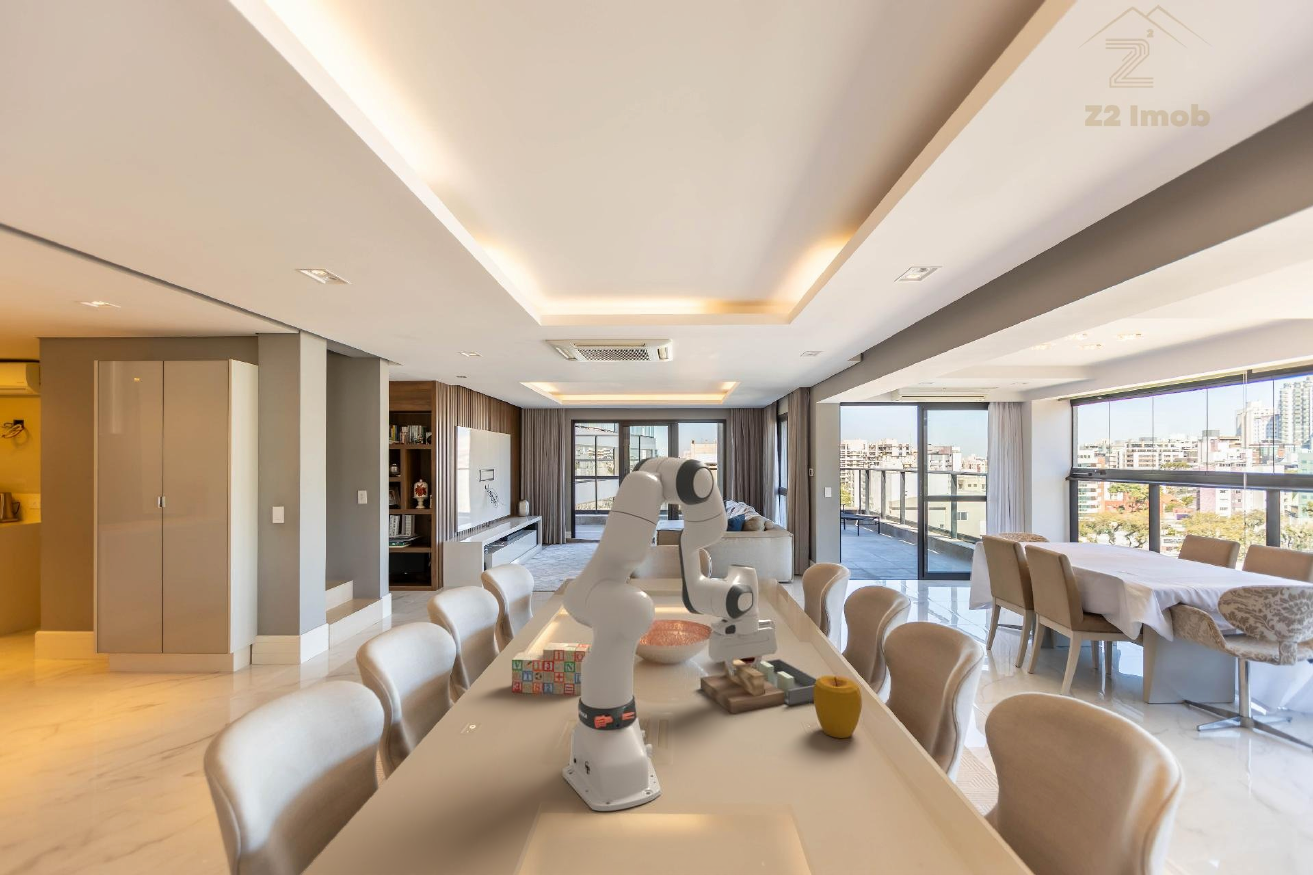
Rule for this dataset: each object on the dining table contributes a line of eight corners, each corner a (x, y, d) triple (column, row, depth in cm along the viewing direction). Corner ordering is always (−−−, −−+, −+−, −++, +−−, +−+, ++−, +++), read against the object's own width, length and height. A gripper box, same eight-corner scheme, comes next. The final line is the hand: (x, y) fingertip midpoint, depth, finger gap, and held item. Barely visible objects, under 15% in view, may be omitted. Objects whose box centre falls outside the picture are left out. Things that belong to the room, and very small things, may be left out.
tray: (826, 698, 150) (826, 683, 151) (789, 706, 146) (789, 690, 146) (779, 671, 171) (779, 658, 171) (746, 677, 166) (745, 663, 166)
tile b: (768, 684, 159) (774, 683, 160) (767, 667, 159) (773, 666, 160) (758, 678, 163) (764, 677, 164) (758, 661, 164) (764, 660, 165)
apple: (860, 725, 135) (859, 671, 136) (864, 746, 124) (863, 688, 125) (813, 720, 138) (812, 667, 138) (814, 740, 127) (812, 683, 128)
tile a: (788, 697, 150) (794, 696, 151) (787, 678, 150) (793, 677, 151) (777, 690, 155) (783, 689, 156) (777, 672, 155) (783, 671, 156)
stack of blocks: (511, 692, 156) (511, 648, 157) (518, 684, 163) (518, 641, 163) (585, 695, 154) (585, 650, 155) (590, 686, 161) (590, 643, 161)
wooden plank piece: (765, 693, 147) (764, 674, 147) (754, 695, 145) (754, 676, 146) (734, 673, 161) (734, 655, 162) (724, 674, 160) (724, 657, 161)
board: (784, 703, 148) (784, 691, 148) (732, 713, 142) (731, 701, 142) (748, 679, 164) (748, 669, 164) (700, 688, 158) (700, 677, 158)
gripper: (768, 616, 161) (769, 664, 160) (705, 623, 154) (706, 674, 153) (781, 621, 155) (781, 671, 155) (716, 629, 148) (717, 682, 147)
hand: (743, 673), depth 154 cm, fingers open, 5 cm apart
